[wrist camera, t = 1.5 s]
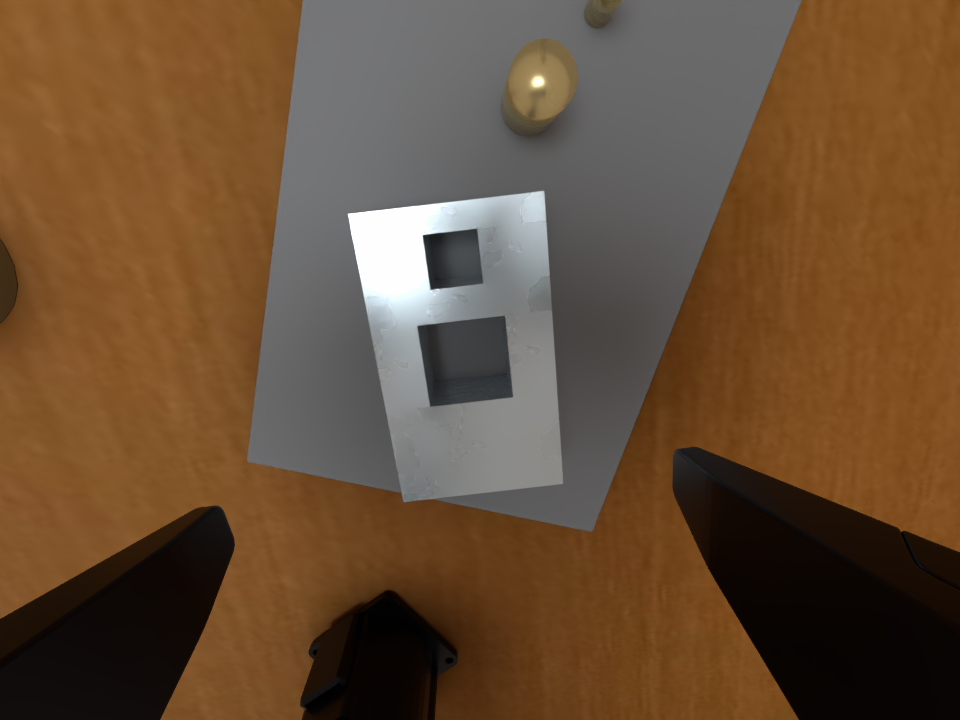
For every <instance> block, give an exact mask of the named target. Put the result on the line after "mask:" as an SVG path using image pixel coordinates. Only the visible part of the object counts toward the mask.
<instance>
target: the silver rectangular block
mask: <svg viewBox="0 0 960 720" xmlns="http://www.w3.org/2000/svg"><path fill="white" fill-rule="evenodd" d="M348 216H349V221H350V226H351V232H352V237H353V242H354V247H355V252H356V258H357V263H358V268H359V273H360V279H361V284H362V289H363V294H364V299H365V305H366V310H367V315H368V320H369V326H370V331H371V336H372V341H373V346H374V352H375V357H376V362H377V367H378V372H379V378H380V383H381V388H382V393H383V399H384V404H385V409H386V414H387V419H388V425H389V430H390V435H391V440H392V446H393V451H394V456H395V461H396V466H397V472H398V477H399V482H400V487H401V492H402V498H403V502H409V501H418V500H427V499H435V498H444V497H453V496H462V495H470V494H479V493H488V492H497V491H505V490H514V489H523V488H532V487H540V486H549V485H558V484H563V472H562V457H561V441H560V426H559V410H558V395H557V380H556V364H555V349H554V334H553V318H552V303H551V288H550V272H549V257H548V241H547V226H546V211H545V195H544V191H540V192H531V193H523V194H514V195H506V196H498V197H489V198H481V199H472V200H464V201H455V202H447V203H439V204H430V205H422V206H413V207H405V208H396V209H388V210H379V211H371V212H363V213H354V214H348ZM469 229H476V235H477V244H478V253H479V262H480V271H481V274H479V275H471V276H462V277H454V278H445V279H437V280H436V279H435V272H434V265H433V258H432V251H431V244H430V237H429V234H435V233H443V232H452V231H460V230H469ZM497 316H501V320H502V330H503V340H504V350H505V360H506V370H507V373H504V374H495V375H487V376H478V377H469V378H461V379H452V380H443V381H435V378H434V372H433V365H432V359H431V352H430V346H429V339H428V333H427V326H426V325H428V324H437V323H446V322H454V321H463V320H471V319H480V318H488V317H497Z"/></svg>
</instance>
